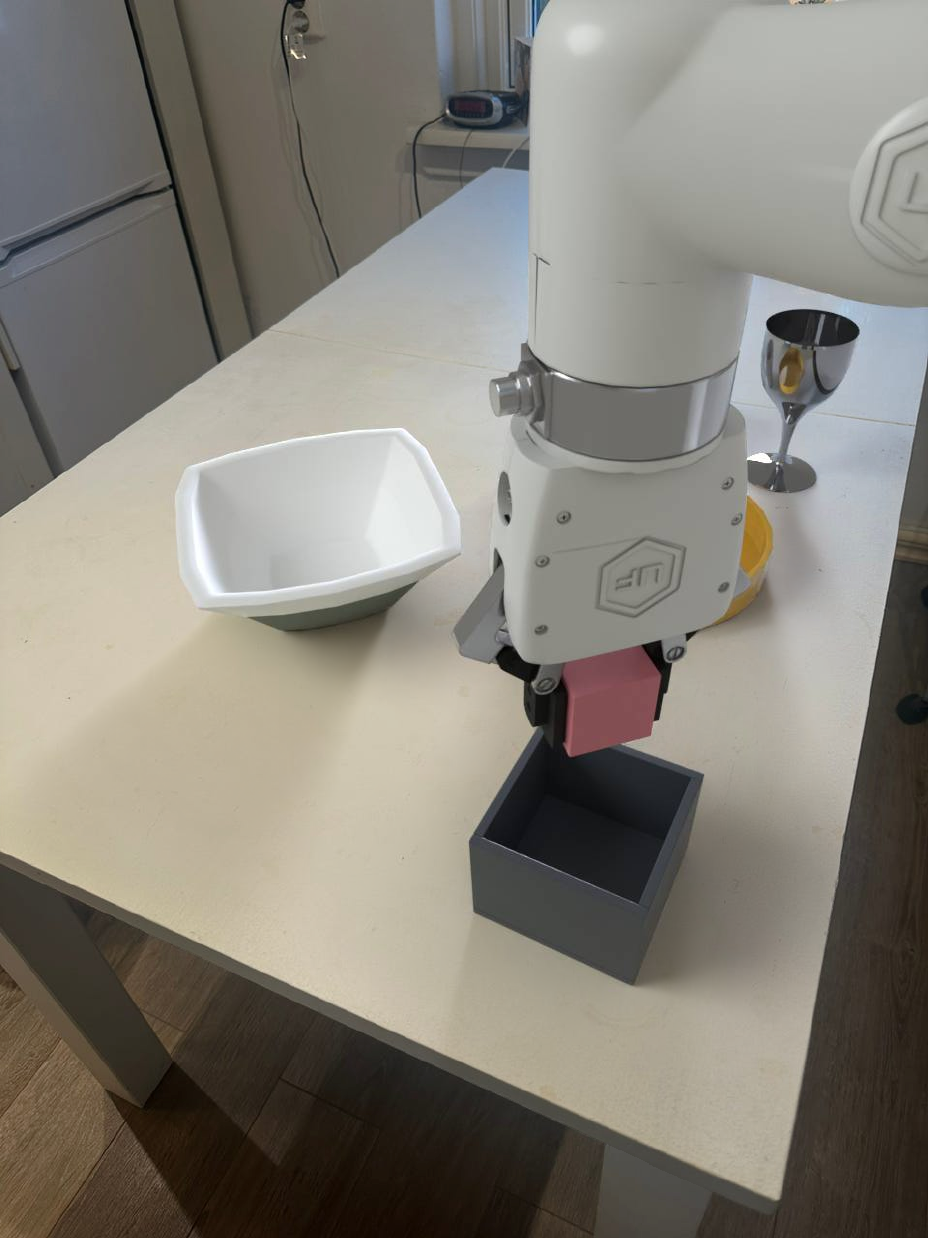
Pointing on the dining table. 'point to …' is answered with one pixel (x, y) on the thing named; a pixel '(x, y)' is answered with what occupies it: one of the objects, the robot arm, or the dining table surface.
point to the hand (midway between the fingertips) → (594, 711)
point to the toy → (609, 699)
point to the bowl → (313, 528)
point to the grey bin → (584, 850)
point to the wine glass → (799, 384)
